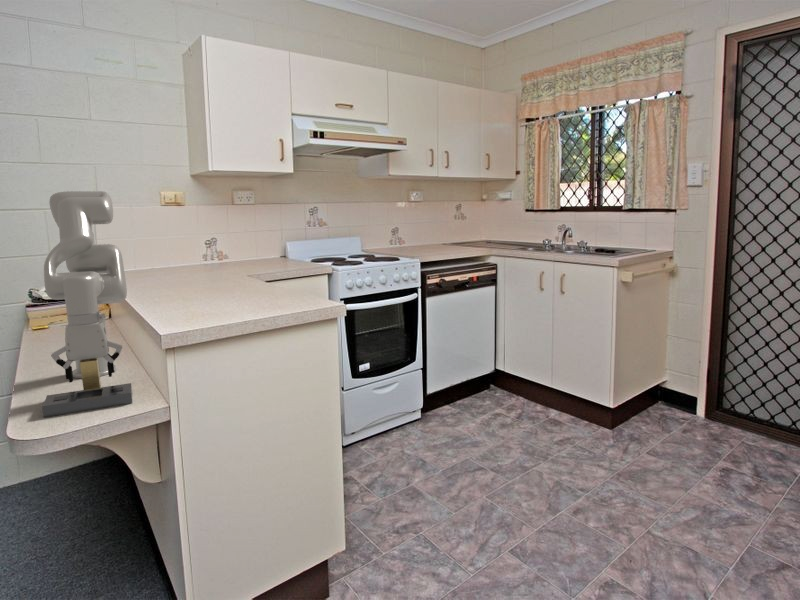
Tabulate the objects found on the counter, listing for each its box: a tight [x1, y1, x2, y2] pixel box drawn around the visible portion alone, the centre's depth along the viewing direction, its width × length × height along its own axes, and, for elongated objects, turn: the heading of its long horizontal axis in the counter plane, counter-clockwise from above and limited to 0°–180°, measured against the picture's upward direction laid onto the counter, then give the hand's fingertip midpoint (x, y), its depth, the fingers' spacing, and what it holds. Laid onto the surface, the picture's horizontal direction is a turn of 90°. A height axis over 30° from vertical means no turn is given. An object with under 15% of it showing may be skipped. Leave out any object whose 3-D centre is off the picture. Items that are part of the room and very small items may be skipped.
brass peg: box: [80, 358, 102, 390], centre depth 149 cm, size 4×4×10 cm
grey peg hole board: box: [41, 382, 133, 419], centre depth 141 cm, size 9×20×3 cm, turn 117°
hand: (91, 378), depth 149 cm, fingers open, 9 cm apart
